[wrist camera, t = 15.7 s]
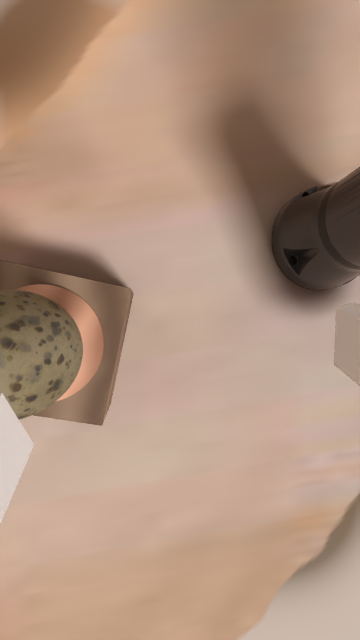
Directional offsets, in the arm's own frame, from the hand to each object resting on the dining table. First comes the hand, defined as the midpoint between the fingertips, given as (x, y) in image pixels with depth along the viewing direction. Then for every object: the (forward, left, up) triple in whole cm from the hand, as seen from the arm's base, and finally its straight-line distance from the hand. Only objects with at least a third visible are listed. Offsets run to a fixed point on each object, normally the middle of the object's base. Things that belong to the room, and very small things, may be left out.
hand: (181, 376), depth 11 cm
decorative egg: (+12, +3, -21) cm, 24 cm away
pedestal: (+12, +3, -29) cm, 32 cm away
